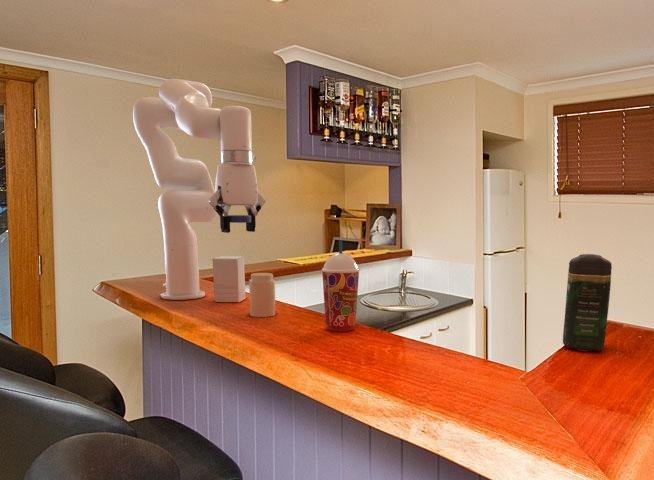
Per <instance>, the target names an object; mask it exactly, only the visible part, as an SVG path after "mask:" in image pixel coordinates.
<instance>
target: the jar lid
mask: <svg viewBox="0 0 654 480" xmlns="http://www.w3.org/2000/svg"><path fill="white" fill-rule="evenodd" d="M228 216H229V217H230V224H231V223H233V224H234V223H235V224H236V223H237V224H239V223H240V224H246V223H248V222H252V217H251V215H248V214H228Z"/></svg>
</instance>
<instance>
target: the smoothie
mask: <svg viewBox="0 0 654 480" xmlns="http://www.w3.org/2000/svg"><path fill="white" fill-rule="evenodd" d="M321 272H322V289H323V291H322V292H323V304H324V320H325V325H327V329H328V330H329V331H331V332H337V333H345V332H351V331H352V330H354V325H356V321H357V309H358V308H357V307H358V294H359V293H358V292H359V280H360V279H359V278H360V268H359V267H358V264H357V262H356V261H355V258H353V257H352V256H351V255H349V254H347V253H345V252H343V240H339V241H338V252H336V253H334V254H332V255H330V256H329V257H328V258H327V259H326V261H325V262H324V265H323V267H322V268H321Z"/></svg>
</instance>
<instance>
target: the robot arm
mask: <svg viewBox="0 0 654 480" xmlns="http://www.w3.org/2000/svg"><path fill="white" fill-rule="evenodd" d="M158 96H159V97H157V96H145V97H141V98H138V99H137V100H136V101H135V102H134V104H133V107H132V122H133V126H134V129H135V132H136V134H137V136H138V138H139V140H140V142H141V143H142V145H143V147H144V149H145V151H146V154H147V157H148V161H149V164H150V167H151V170H152V173H153V176H154V180H155V182H156V184H157V185H158V187H159V188H160V189H162V190H165V191H163V192H162V193H161V194H160V195H159V197H158V200H157V201H158V202H157V207H158V211H159V216H160V220H161V226H162V235H163V249H164V251H163V252H164V269H165V282H163V284H162V287H163V288H165V291H164V292H162V293H160V297H161V299H164V300H169V301H170V300H171V301H186V300H196V299H201V298H204V297H205V296H206V292H205V291H204V290H201V289H200V271H199V270H200V269H199V268H200V267H199V246H198V245H199V244H198V236H197V233H196V232H195V230H194V229H193V227H192V226H191V223H210V222H213V221H215V220H216V219H217V218H218V217H219V225H220V226H219V227H220V231H221V233H225V234H230V233H231V223H230V217H229V216H228V215H229V213H230V210H231V207H232V206H244V209H245V210H246V213H247V215H251V217H252V222H248V223H245V231H246V232H249V233H254V232H256V227H257V225H256V216H258V214H259V212H260V211H261V210H262V208H263V206H264V205H265V204H266V200H265V198H264V197H263V196H262V195H261V194H260V193H259V189H258V178H257V172H256V168H255V165H253V162H255V161H257V160H256V159H257V157H256V155H253V136H252V135H253V133H252V131H253V130H252V127H253V126H252V112H251V110H250V109H249V108H248V107H246V106H240V105H226V106H223V107H222V108H216V107H212V104H213V94H212V92H211V89H210V88H209V87H208V86H207V85H206V84H205V83H203V82H199V81H194V80H187V79H182V78H181V79H180V78H168V79H166V80H164V81H163V82H161V84H160V85H159V87H158ZM162 129H171V130H180V131H183V132H184V133H186V134H187V135H188V136H190V137H193V138H196V139H205V140H217V141H220V161H221V162H220V163H218V164H217V169H216V175H215V183H213V180H212V176H211V173H210V171H209V169H208V166H207V165H206V164H205V162H203V161H202V160H199V159H197V158H185V157H181V156H180V155H179V152H178V150H177V146H176V144H175V142H174V140H173V139H172V138H171V137H170V136H169V135H168V134H167V133H166V132H165V131H163V130H162ZM214 184H215V185H214Z"/></svg>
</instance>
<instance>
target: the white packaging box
mask: <svg viewBox="0 0 654 480" xmlns="http://www.w3.org/2000/svg"><path fill="white" fill-rule="evenodd" d="M211 260H212V273H213V292H214V294H213V295H214V302H215V303H240V302H242V301H244V300H246V296H247V295H246V274H245V273H246V271H245V256H244V255H242V256H241V255H220V256H217V257H213V258H212V259H211Z"/></svg>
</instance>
